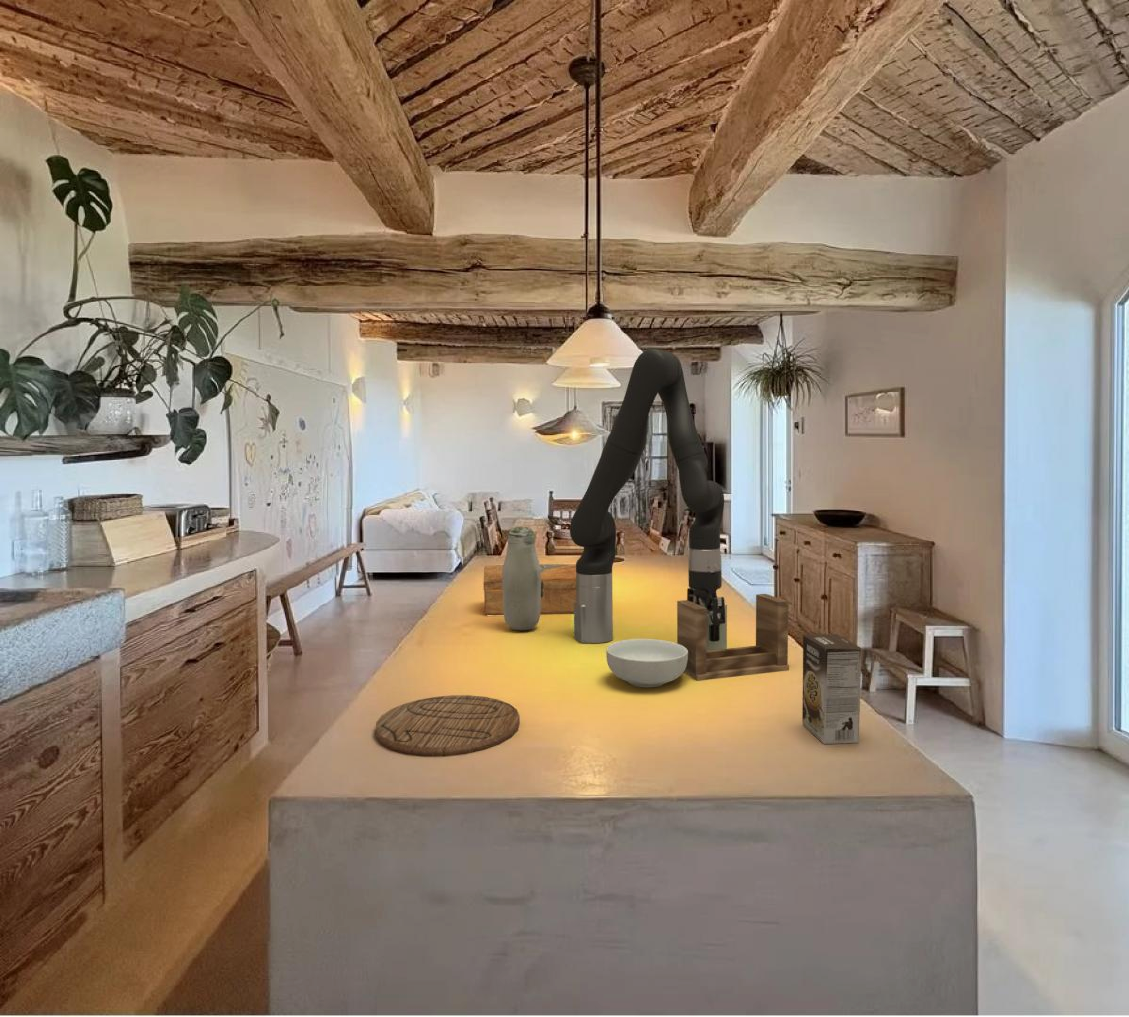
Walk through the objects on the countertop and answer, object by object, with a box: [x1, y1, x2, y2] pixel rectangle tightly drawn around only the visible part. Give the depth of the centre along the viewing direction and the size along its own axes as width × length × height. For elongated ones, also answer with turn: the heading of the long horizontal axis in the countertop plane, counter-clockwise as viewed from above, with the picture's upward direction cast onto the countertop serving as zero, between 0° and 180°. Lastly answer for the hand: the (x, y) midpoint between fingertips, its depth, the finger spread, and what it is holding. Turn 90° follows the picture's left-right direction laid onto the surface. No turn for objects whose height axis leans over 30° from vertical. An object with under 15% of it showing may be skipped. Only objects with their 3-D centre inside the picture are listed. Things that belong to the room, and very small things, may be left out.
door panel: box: [697, 603, 728, 651], centre depth 172 cm, size 10×4×12 cm, turn 107°
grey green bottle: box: [502, 526, 541, 632], centre depth 200 cm, size 10×10×28 cm
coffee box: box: [801, 633, 862, 745], centre depth 125 cm, size 9×6×16 cm
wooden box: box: [483, 563, 576, 616], centre depth 224 cm, size 30×16×14 cm, turn 91°
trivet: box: [375, 694, 521, 757], centre depth 131 cm, size 25×25×2 cm
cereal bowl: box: [605, 638, 688, 688], centre depth 155 cm, size 17×17×7 cm
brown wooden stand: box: [676, 593, 790, 682], centre depth 162 cm, size 22×10×15 cm, turn 107°
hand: (705, 636), depth 173 cm, fingers open, 8 cm apart
